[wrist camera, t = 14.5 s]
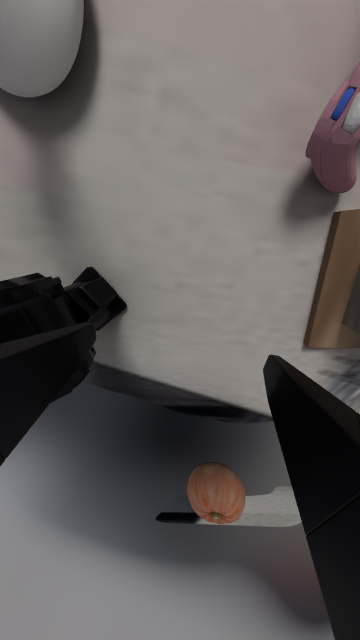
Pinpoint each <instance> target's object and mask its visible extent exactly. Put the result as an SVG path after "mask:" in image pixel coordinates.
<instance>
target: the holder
mask: <svg viewBox="0 0 360 640" xmlns="http://www.w3.org/2000/svg"><path fill="white" fill-rule="evenodd" d="M304 344H305V345H306V346H307V348H360V209H356V210H348V211H340V212H334V214H333V219H332V223H331V227H330V232H329V236H328V240H327V245H326V249H325V253H324V258H323V262H322V266H321V271H320V275H319V279H318V284H317V288H316V292H315V297H314V301H313V305H312V309H311V314H310V318H309V322H308V327H307V331H306V335H305V340H304Z"/></svg>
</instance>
